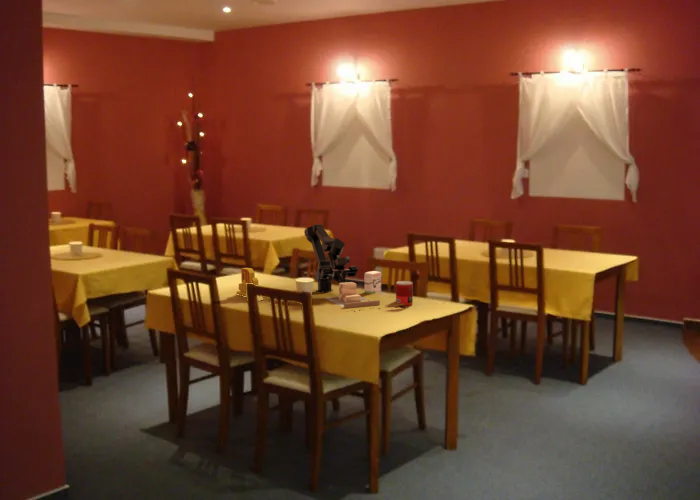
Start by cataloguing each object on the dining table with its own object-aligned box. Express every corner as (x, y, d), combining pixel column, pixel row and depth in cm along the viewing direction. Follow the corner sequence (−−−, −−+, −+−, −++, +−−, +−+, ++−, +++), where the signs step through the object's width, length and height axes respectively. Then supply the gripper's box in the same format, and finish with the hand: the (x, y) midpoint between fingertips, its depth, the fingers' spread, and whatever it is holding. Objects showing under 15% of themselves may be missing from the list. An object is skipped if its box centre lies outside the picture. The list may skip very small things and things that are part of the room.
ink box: (371, 296, 381) (371, 273, 379) (363, 295, 384) (363, 272, 382) (381, 294, 388) (381, 271, 386) (373, 292, 391) (373, 270, 389)
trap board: (324, 301, 371) (324, 298, 371) (358, 297, 378) (358, 294, 378) (338, 308, 355) (338, 305, 355) (373, 304, 362) (373, 301, 362)
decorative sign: (263, 300, 373) (263, 270, 371) (259, 301, 371) (258, 271, 369) (241, 294, 388) (240, 265, 386) (236, 295, 386) (235, 266, 384)
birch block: (339, 299, 368) (339, 283, 367) (352, 297, 371) (352, 281, 370) (347, 303, 359) (347, 286, 358) (360, 301, 362) (360, 285, 361)
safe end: (338, 308, 355) (338, 301, 354) (373, 304, 362) (373, 297, 362) (344, 311, 349) (344, 303, 348) (379, 307, 356) (379, 300, 355)
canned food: (411, 307, 357) (411, 284, 356) (394, 306, 359) (394, 283, 357) (413, 303, 365) (413, 281, 363) (397, 302, 366) (397, 280, 365)
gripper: (321, 252, 370) (330, 278, 361) (356, 250, 377) (366, 275, 369) (316, 265, 378) (324, 291, 370) (350, 263, 385) (359, 288, 377)
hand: (343, 286), depth 371 cm, fingers closed
